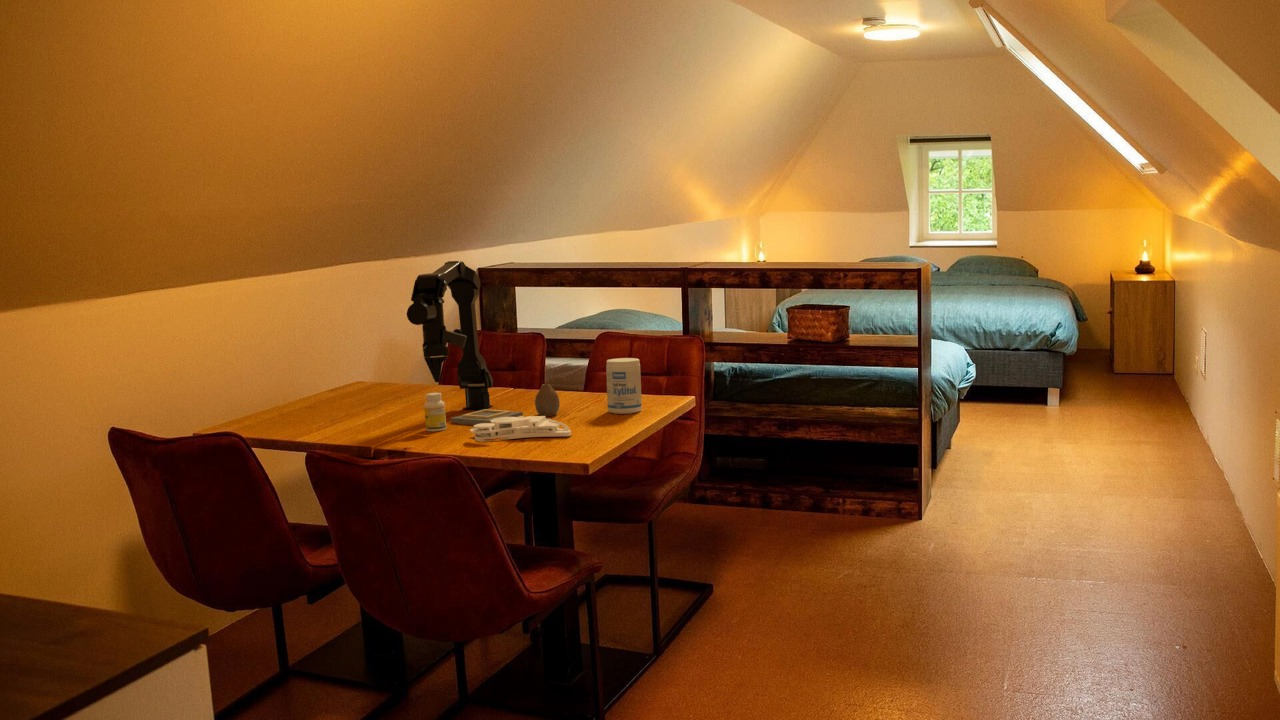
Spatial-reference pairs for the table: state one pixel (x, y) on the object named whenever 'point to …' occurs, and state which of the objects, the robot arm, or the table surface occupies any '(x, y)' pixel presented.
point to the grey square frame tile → (483, 416)
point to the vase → (547, 401)
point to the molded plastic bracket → (519, 428)
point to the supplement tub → (623, 385)
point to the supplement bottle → (434, 412)
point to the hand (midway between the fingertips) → (437, 380)
